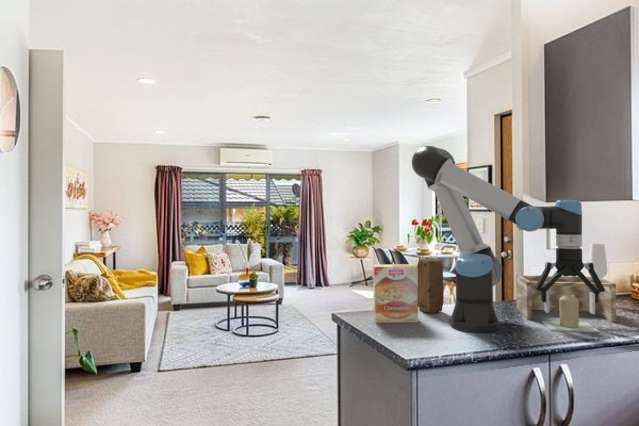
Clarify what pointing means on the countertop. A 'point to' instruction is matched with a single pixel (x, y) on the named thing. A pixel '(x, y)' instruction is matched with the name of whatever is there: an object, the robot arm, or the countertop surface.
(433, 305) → the block
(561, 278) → the access cubby
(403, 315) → the coffeecake box
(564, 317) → the candle
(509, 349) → the countertop surface
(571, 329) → the mat
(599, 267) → the champagne flute
